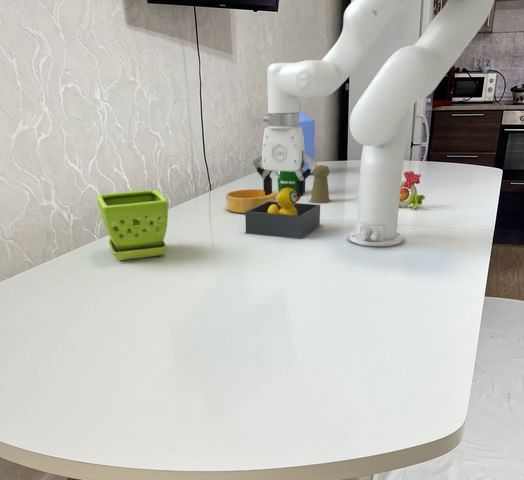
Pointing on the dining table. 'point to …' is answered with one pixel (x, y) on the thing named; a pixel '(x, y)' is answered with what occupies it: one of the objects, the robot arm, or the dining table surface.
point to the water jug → (307, 134)
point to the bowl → (247, 199)
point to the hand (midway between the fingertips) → (284, 195)
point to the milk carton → (287, 180)
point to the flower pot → (135, 223)
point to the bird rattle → (405, 193)
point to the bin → (282, 220)
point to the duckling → (285, 202)
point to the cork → (320, 184)
